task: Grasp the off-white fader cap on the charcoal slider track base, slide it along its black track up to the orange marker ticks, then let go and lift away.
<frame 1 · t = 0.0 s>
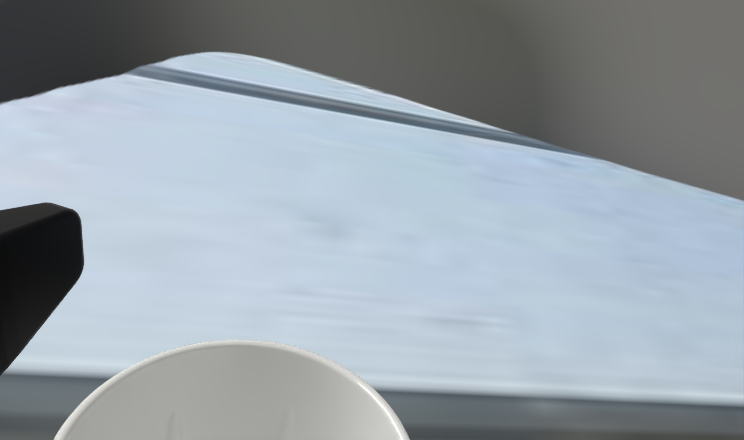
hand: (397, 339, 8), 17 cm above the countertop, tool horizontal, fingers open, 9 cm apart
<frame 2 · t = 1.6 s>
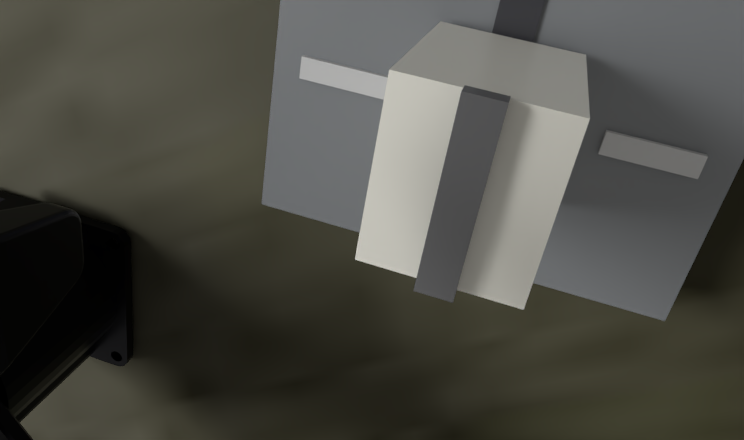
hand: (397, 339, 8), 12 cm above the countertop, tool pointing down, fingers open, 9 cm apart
fader cap: (476, 153, 14), point 5 cm above the countertop, slide at 0.0 cm
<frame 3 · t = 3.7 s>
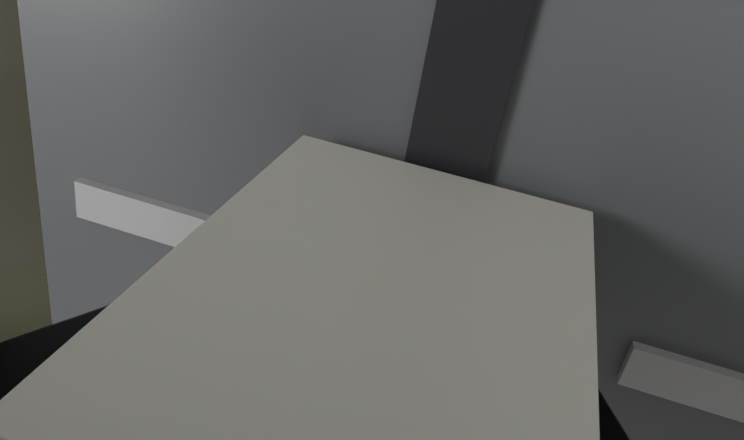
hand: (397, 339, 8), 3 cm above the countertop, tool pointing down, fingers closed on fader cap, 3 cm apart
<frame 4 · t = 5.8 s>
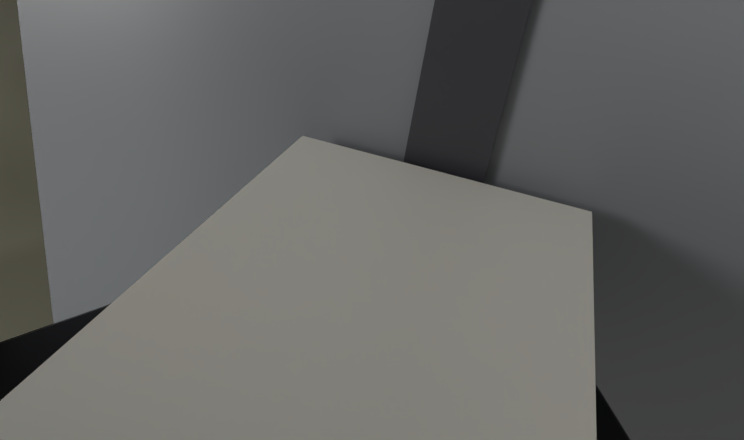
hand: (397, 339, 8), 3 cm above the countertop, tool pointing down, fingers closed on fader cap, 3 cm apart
slider track base: (436, 258, 11), on the countertop
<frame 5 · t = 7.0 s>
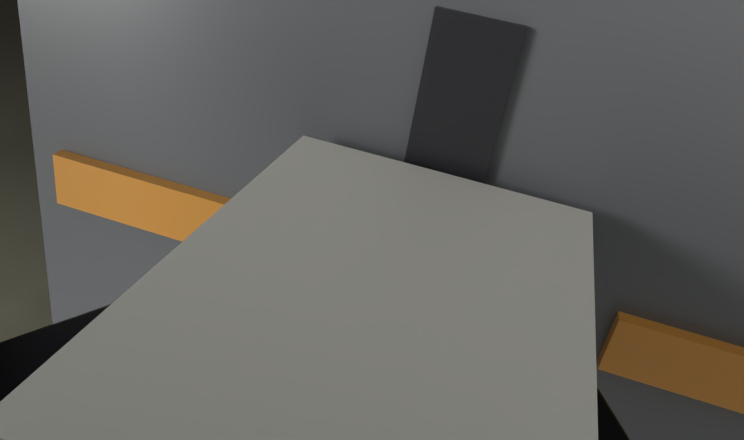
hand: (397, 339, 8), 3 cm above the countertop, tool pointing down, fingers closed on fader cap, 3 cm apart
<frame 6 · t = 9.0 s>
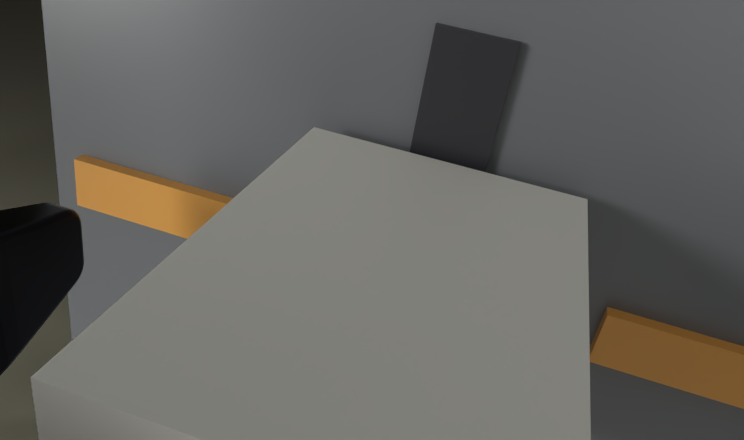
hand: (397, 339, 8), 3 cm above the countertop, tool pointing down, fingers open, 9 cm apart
fader cap: (357, 430, 7), point 5 cm above the countertop, slide at 12.9 cm
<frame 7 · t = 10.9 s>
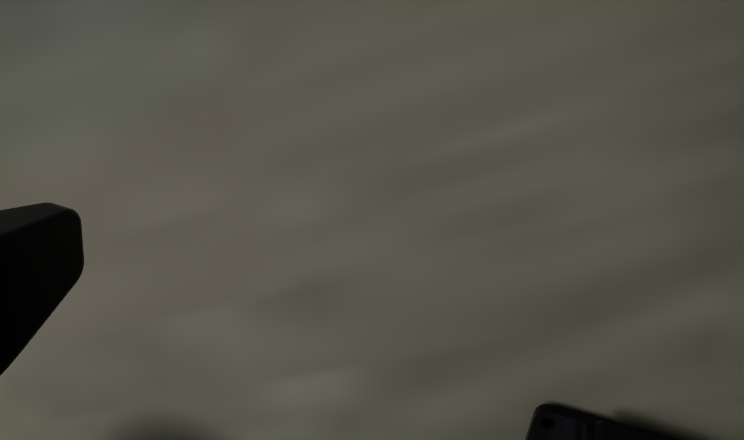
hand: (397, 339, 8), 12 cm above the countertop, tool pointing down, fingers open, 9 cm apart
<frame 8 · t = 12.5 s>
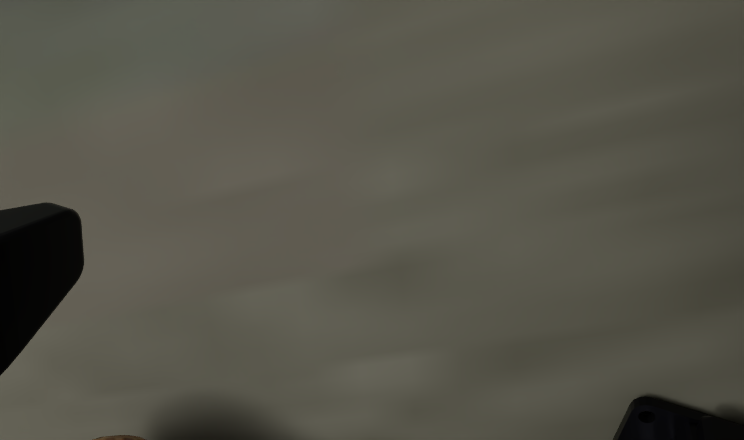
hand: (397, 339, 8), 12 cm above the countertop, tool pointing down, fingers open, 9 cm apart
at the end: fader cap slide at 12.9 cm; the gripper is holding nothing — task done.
